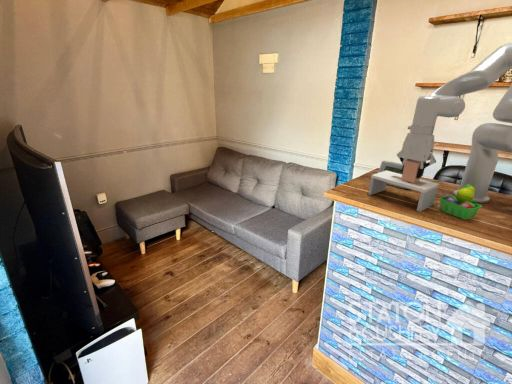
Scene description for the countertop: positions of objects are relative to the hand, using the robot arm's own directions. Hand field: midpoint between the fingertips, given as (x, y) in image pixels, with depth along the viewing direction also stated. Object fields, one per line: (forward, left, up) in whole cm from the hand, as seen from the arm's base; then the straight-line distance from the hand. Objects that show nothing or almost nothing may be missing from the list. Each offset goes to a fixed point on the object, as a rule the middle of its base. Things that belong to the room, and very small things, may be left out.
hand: (411, 175), depth 110 cm
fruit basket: (-5, +18, -12) cm, 22 cm away
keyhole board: (0, -3, -11) cm, 12 cm away
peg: (0, 0, -5) cm, 5 cm away
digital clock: (-16, -14, -12) cm, 24 cm away
